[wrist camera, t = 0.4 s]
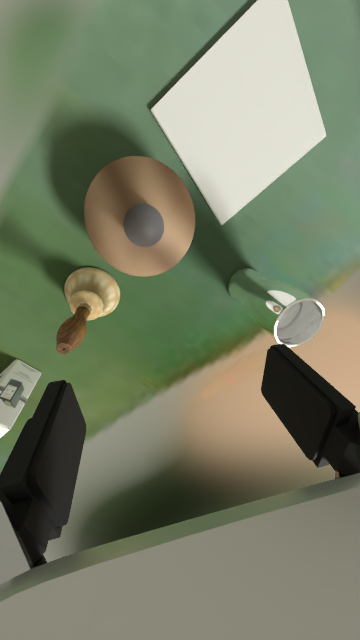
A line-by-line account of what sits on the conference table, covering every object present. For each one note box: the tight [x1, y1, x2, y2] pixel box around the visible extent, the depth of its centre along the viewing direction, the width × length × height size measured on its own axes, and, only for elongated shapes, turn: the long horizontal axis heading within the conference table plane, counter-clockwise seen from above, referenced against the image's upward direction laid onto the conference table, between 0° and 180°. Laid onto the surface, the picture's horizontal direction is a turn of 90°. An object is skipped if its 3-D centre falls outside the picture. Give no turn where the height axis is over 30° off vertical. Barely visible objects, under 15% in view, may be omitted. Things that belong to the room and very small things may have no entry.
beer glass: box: [228, 268, 325, 347], centre depth 32 cm, size 7×7×15 cm
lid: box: [84, 156, 195, 276], centre depth 24 cm, size 13×13×6 cm
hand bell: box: [56, 267, 120, 355], centre depth 28 cm, size 8×8×16 cm
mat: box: [151, 0, 326, 225], centre depth 28 cm, size 18×16×1 cm
